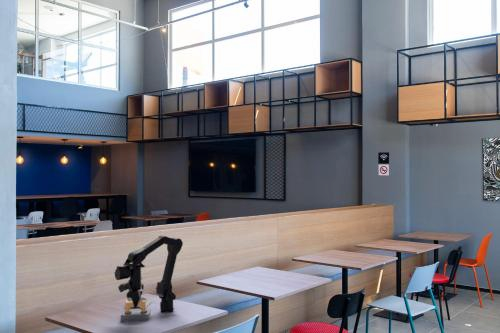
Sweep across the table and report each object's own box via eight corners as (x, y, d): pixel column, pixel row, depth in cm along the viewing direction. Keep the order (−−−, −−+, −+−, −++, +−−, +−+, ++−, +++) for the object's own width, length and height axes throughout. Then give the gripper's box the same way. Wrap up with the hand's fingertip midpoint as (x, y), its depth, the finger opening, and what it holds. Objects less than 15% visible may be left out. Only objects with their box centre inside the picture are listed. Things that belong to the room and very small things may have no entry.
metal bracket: (123, 298, 264) (132, 292, 279) (120, 309, 264) (129, 301, 279) (147, 306, 263) (155, 299, 278) (145, 316, 263) (152, 308, 278)
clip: (146, 312, 248) (145, 300, 248) (145, 314, 245) (145, 301, 245) (126, 313, 247) (126, 301, 247) (125, 315, 244) (125, 302, 244)
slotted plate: (150, 315, 251) (150, 309, 251) (148, 320, 243) (148, 314, 243) (123, 316, 249) (123, 310, 249) (120, 321, 241) (120, 315, 241)
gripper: (122, 273, 255) (123, 302, 255) (115, 281, 236) (116, 313, 236) (144, 272, 256) (144, 302, 256) (138, 280, 237) (139, 312, 237)
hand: (135, 307), depth 246 cm, fingers closed on clip, 2 cm apart
